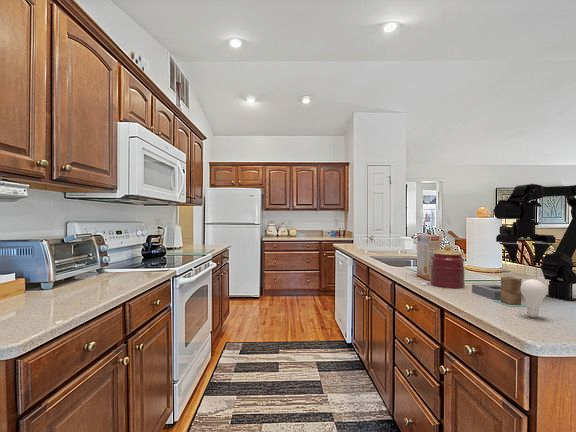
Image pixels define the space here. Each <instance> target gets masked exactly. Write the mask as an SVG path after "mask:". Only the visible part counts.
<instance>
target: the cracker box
mask: <svg viewBox="0 0 576 432" xmlns="http://www.w3.org/2000/svg"><path fill="white" fill-rule="evenodd" d="M416 240H417V243H416V245H417V247H416V250H417V251H416V276H417V277H418V278H421V279H423V280H426V281H430V282H431V265H432V259H431V257H432V256H434V253H433V252H434V251H436V250H438V249H442V248H441V245H442V243H441V240H442V236H441V235H435V234H423V233H422V234H417V237H416Z"/></svg>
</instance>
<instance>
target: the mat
mask: <svg viewBox="0 0 576 432" xmlns="http://www.w3.org/2000/svg"><path fill="white" fill-rule="evenodd" d="M493 303H498V304H500V305H503V306H506V307H510V308H523V307H524V308H525V307H526V308H527V306H526V303H525V304H524V303H521V305H508V304H505V303H502V302H501V300H493Z"/></svg>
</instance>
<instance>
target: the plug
mask: <svg viewBox="0 0 576 432" xmlns="http://www.w3.org/2000/svg"><path fill="white" fill-rule="evenodd" d="M499 277H500V285H501V300H500V301H501V302H502V303H505V304H508V305H521V304H522V293H521V290H520V288H521V285H522V281H523V278H521V277H518V276H513V275H511V276H509V275H504V276H499Z"/></svg>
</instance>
